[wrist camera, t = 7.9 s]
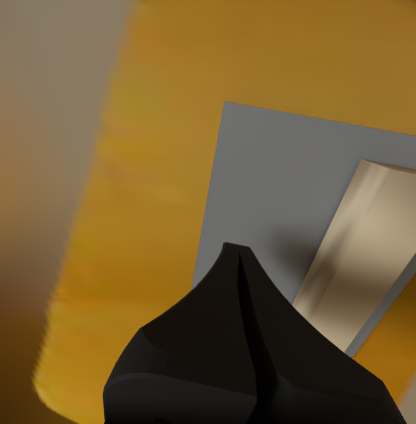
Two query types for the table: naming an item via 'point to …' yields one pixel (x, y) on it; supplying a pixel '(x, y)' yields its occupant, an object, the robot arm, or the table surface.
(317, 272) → the stool leg
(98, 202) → the table surface
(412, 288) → the table surface
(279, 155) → the stool seat
